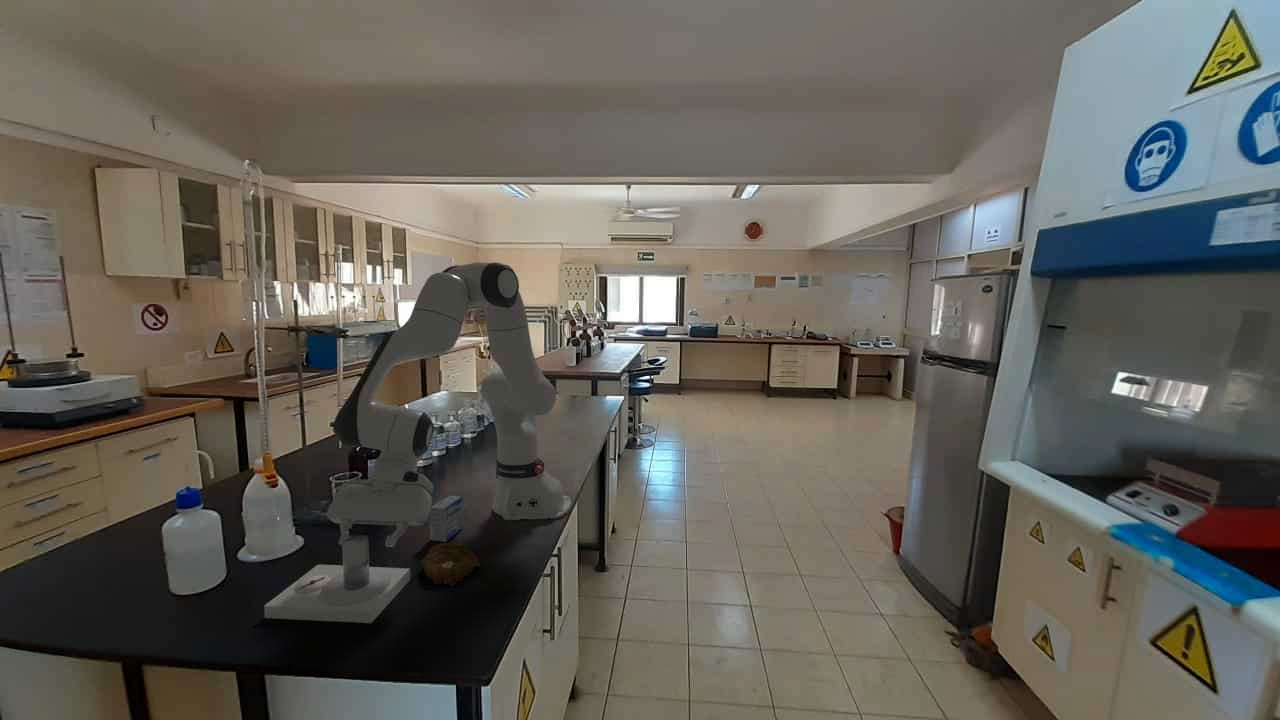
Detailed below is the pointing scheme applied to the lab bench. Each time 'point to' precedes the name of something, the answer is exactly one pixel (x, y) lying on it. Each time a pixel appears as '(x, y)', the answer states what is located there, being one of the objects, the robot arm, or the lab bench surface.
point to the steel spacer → (356, 562)
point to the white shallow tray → (337, 595)
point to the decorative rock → (449, 563)
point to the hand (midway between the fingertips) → (366, 545)
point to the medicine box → (446, 518)
